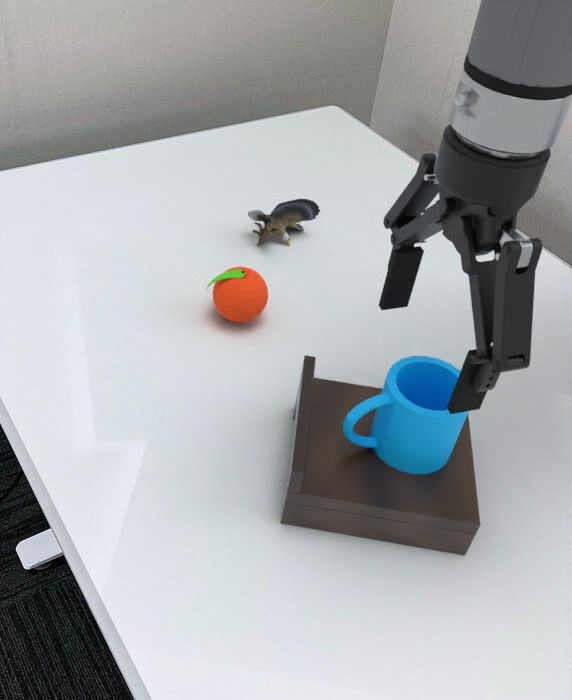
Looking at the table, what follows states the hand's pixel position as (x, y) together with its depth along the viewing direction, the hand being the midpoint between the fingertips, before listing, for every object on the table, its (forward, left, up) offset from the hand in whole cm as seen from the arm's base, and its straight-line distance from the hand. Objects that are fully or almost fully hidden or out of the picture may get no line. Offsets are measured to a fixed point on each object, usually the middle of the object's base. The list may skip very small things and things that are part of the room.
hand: (425, 354), depth 69 cm
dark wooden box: (+1, 0, -18) cm, 18 cm away
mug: (0, 0, -13) cm, 13 cm away
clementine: (+19, -22, -18) cm, 34 cm away
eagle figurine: (+15, -41, -18) cm, 47 cm away
